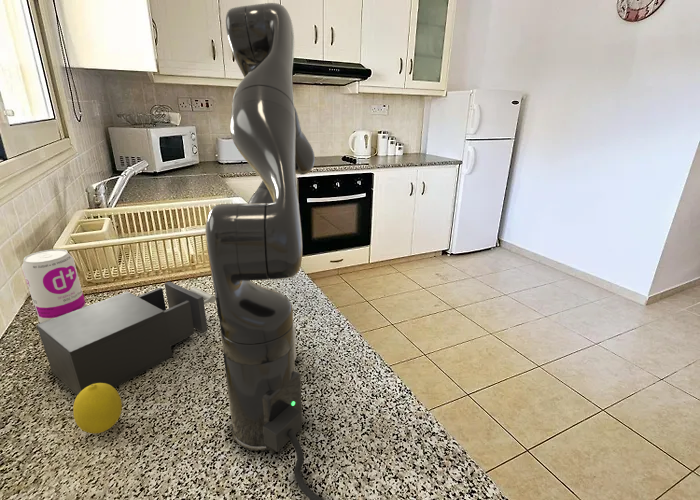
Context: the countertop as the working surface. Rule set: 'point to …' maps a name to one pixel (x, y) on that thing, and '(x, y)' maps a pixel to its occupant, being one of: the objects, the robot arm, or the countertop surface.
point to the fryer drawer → (181, 309)
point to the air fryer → (106, 341)
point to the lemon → (97, 408)
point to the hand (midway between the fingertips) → (224, 276)
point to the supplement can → (53, 283)
